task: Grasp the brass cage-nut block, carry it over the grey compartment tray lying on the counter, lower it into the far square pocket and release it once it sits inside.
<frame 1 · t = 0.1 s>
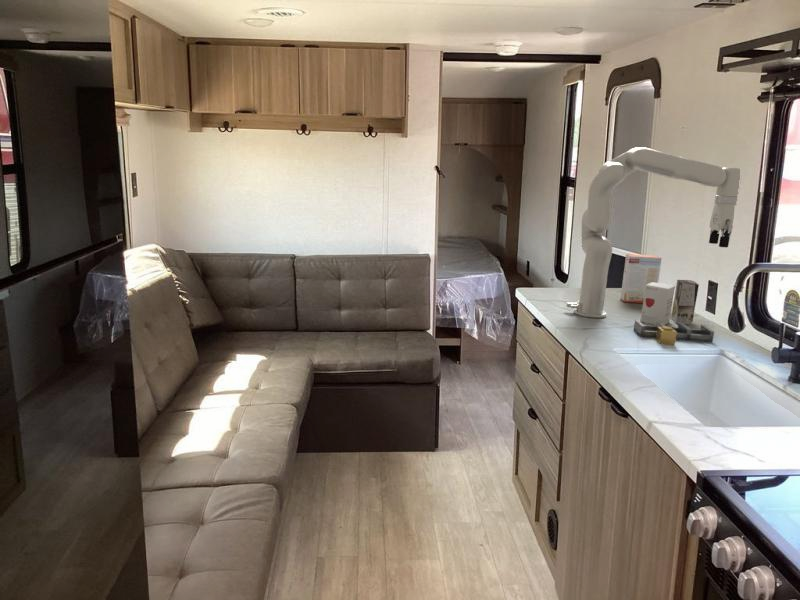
hand: (718, 245, 249), 31 cm above the counter, tool pointing down, fingers open, 9 cm apart
cage nut: (664, 342, 225), on the counter
cracker box: (637, 302, 287), on the counter
coffee box: (681, 321, 256), on the counter
supplement box: (654, 322, 252), on the counter
grey compartment tray: (672, 336, 233), on the counter
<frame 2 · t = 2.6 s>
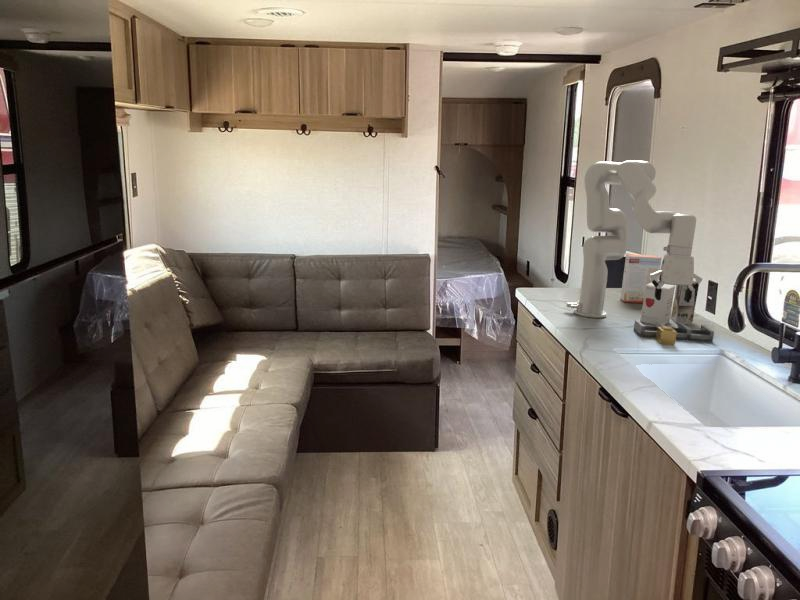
hand: (672, 300, 221), 15 cm above the counter, tool pointing down, fingers open, 9 cm apart
nothing on the counter moved.
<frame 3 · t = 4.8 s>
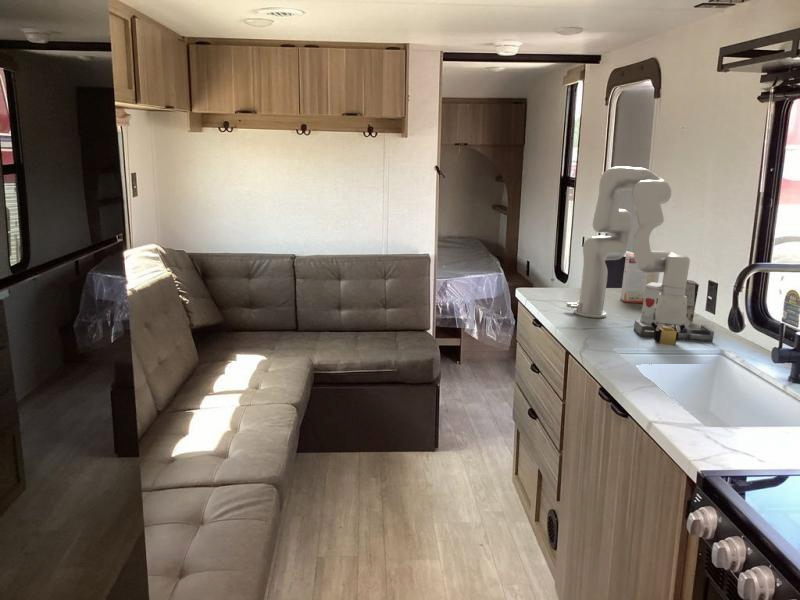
hand: (665, 341, 224), 0 cm above the counter, tool pointing down, fingers closed on cage nut, 5 cm apart
cage nut: (664, 342, 225), on the counter, touching gripper
everything else where it was.
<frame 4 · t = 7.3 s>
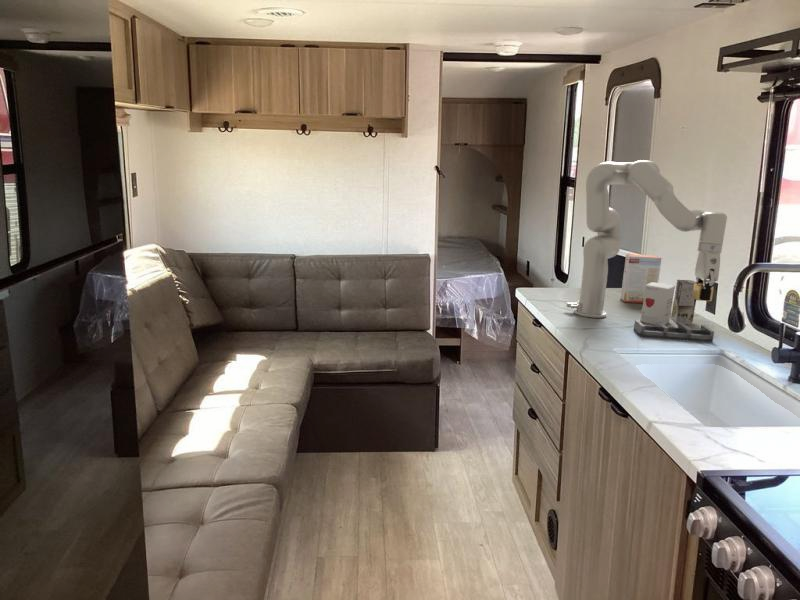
hand: (701, 297, 229), 15 cm above the counter, tool pointing down, fingers closed on cage nut, 5 cm apart
cage nut: (701, 299, 229), point 14 cm above the counter, touching gripper
everything else where it was.
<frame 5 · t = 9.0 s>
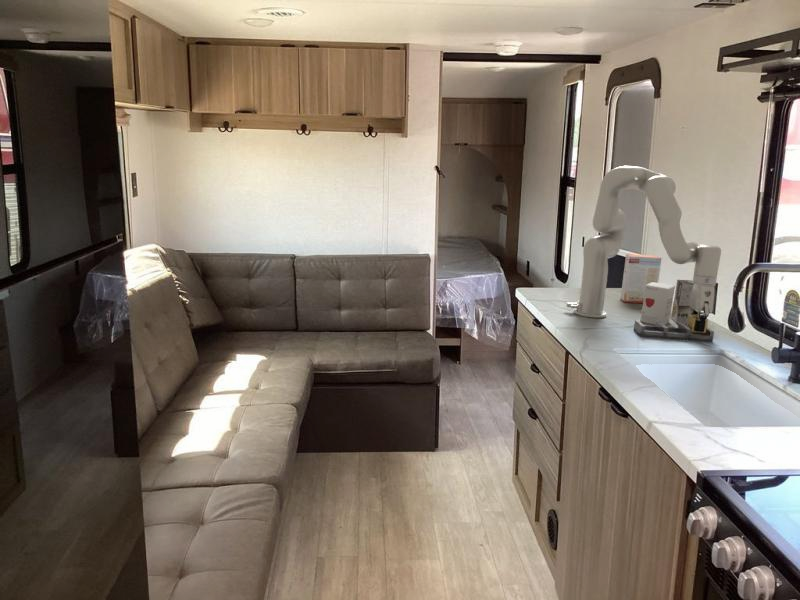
hand: (696, 328, 232), 3 cm above the counter, tool pointing down, fingers closed on cage nut, 5 cm apart
cage nut: (696, 330, 232), point 3 cm above the counter, touching gripper
everything else where it was.
when the fingers open (3 cm above the counter, at t = 10.0 s): cage nut drops 2 cm, resting on grey compartment tray.
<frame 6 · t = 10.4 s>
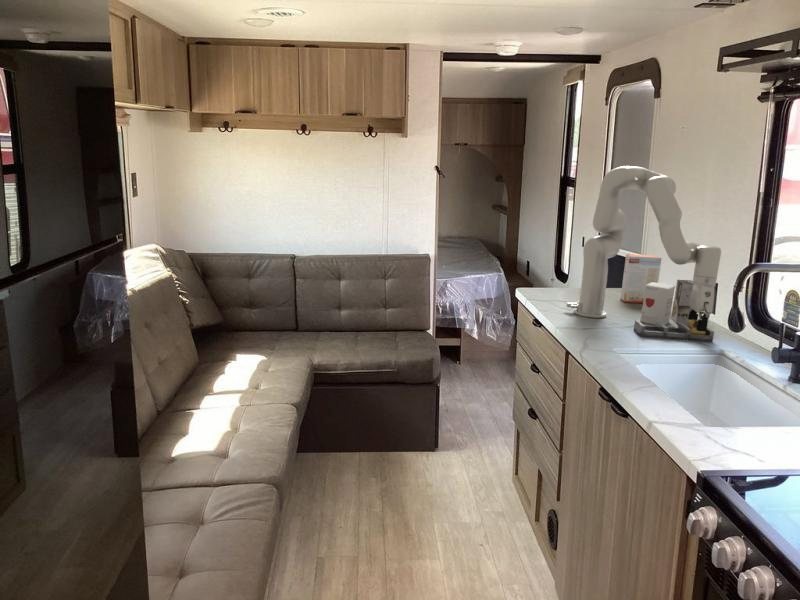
hand: (696, 327, 232), 4 cm above the counter, tool pointing down, fingers open, 8 cm apart
cage nut: (695, 335, 233), point 1 cm above the counter, touching grey compartment tray
everything else where it was.
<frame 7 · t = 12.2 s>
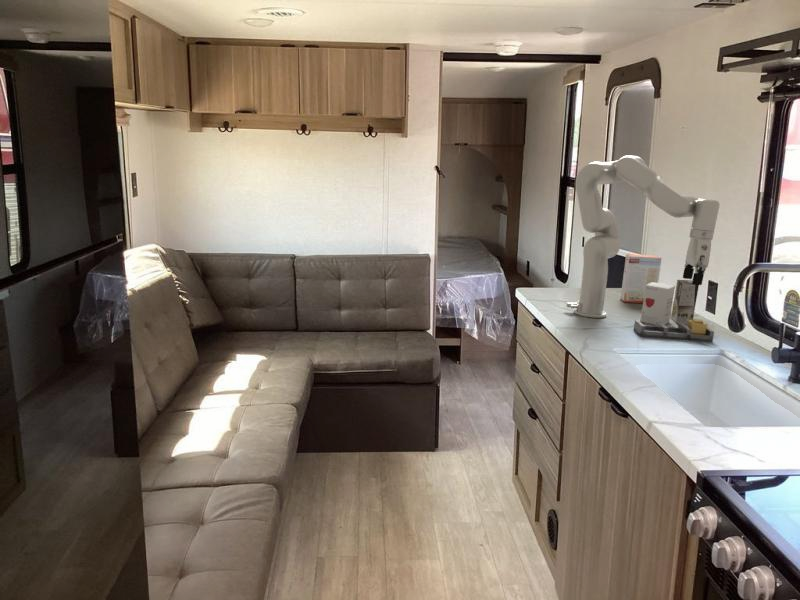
hand: (691, 281, 231), 20 cm above the counter, tool pointing down, fingers open, 9 cm apart
nothing on the counter moved.
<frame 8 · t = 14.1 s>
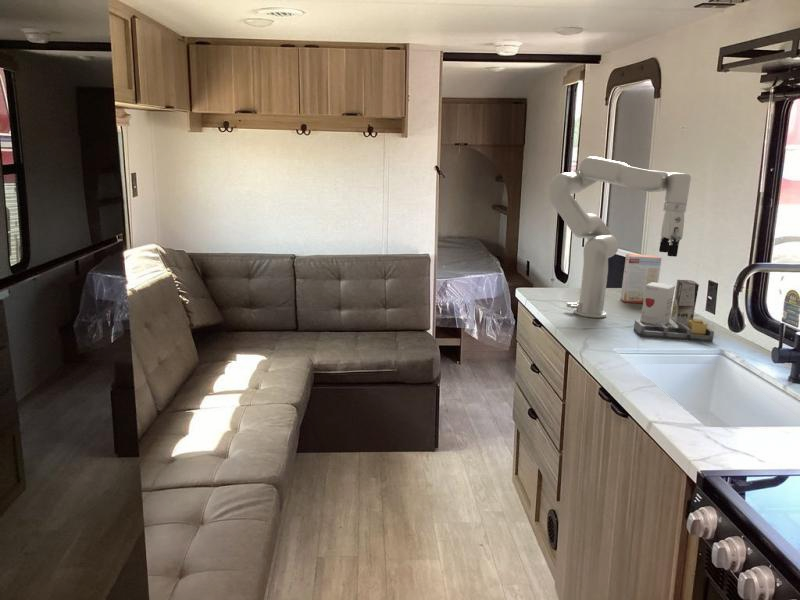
hand: (667, 254, 237), 28 cm above the counter, tool pointing down, fingers open, 9 cm apart
nothing on the counter moved.
at the end: cage nut 0.0 cm from the target spot on the grey compartment tray, point 1.0 cm above the grey compartment tray's base; cage nut tilted 0°; the gripper is holding nothing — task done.
